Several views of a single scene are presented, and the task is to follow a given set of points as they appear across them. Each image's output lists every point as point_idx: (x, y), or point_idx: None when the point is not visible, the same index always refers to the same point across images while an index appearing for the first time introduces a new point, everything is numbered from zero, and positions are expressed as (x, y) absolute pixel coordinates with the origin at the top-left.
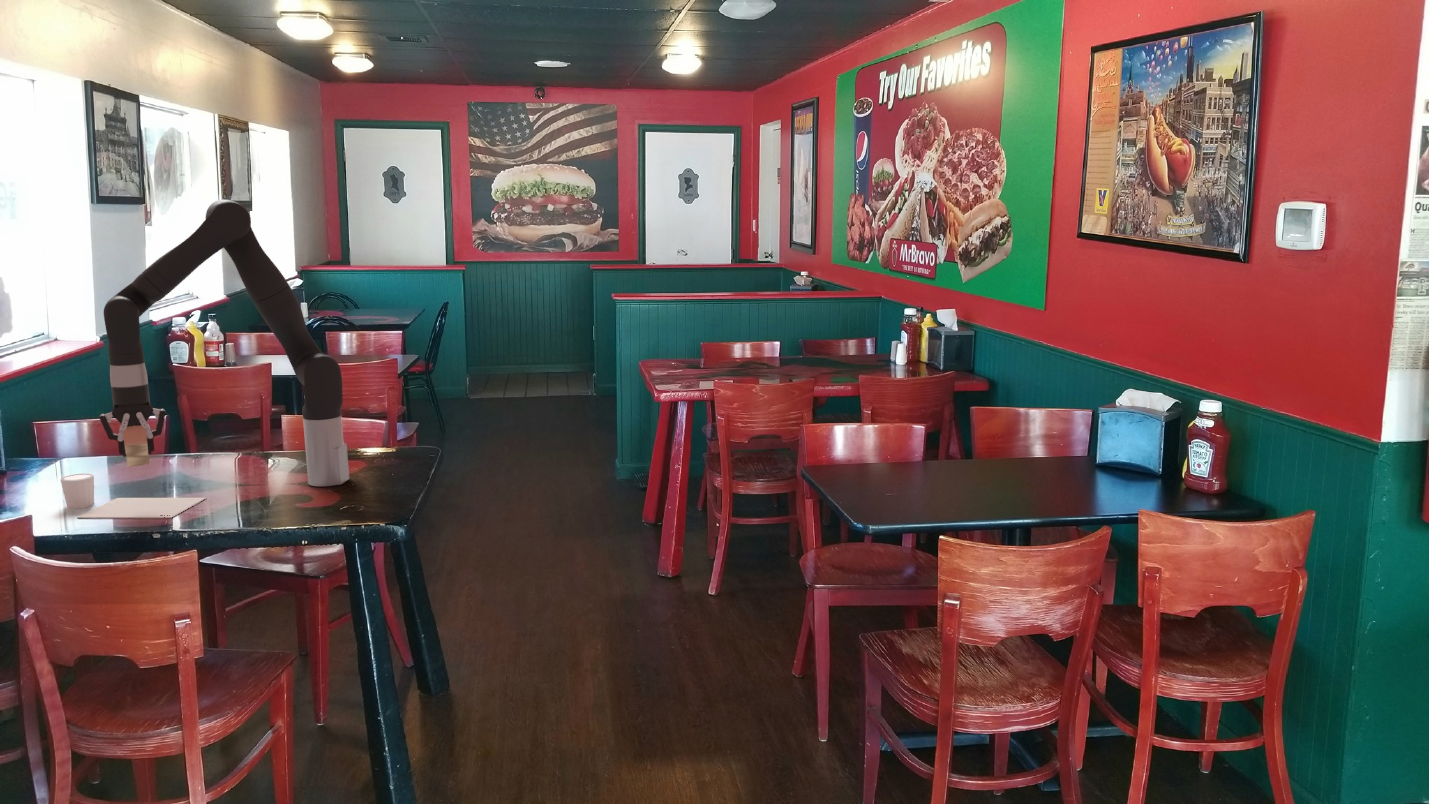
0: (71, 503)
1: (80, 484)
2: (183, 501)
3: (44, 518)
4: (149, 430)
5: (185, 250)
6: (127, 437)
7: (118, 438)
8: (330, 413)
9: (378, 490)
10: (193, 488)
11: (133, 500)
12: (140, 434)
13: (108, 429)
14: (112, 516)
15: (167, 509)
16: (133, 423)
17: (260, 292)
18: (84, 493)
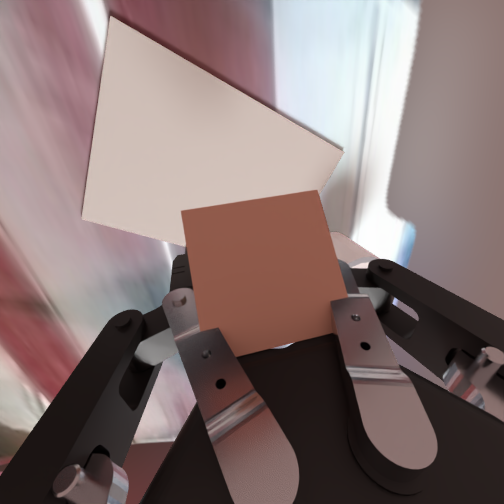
0: (346, 237)
1: (351, 254)
2: (132, 201)
3: (388, 181)
4: (178, 328)
5: None
6: (308, 236)
7: (345, 266)
8: None
9: None
10: (147, 303)
11: None
12: (229, 267)
13: (433, 299)
14: (278, 122)
15: (153, 133)
16: (293, 362)
17: None
18: (334, 246)
